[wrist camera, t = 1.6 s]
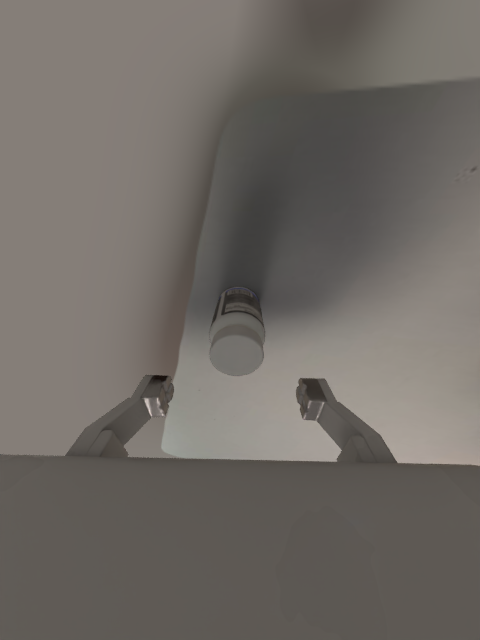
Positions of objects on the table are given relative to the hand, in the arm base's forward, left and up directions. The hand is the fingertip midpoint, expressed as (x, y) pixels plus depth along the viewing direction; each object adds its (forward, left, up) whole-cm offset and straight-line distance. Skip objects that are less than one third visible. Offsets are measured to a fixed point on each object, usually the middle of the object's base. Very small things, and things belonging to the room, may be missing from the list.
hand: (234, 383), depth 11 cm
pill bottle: (0, 0, -11) cm, 11 cm away
